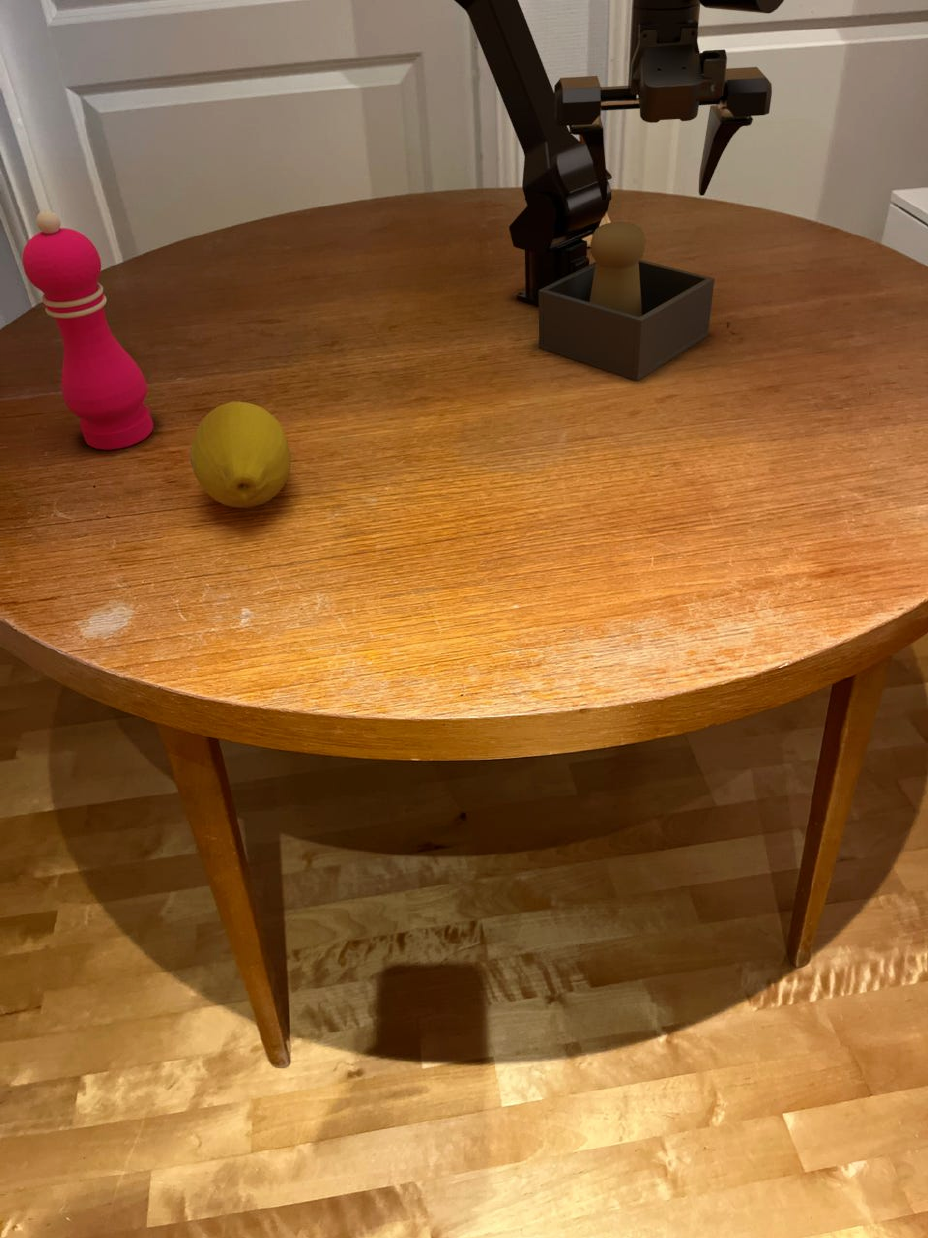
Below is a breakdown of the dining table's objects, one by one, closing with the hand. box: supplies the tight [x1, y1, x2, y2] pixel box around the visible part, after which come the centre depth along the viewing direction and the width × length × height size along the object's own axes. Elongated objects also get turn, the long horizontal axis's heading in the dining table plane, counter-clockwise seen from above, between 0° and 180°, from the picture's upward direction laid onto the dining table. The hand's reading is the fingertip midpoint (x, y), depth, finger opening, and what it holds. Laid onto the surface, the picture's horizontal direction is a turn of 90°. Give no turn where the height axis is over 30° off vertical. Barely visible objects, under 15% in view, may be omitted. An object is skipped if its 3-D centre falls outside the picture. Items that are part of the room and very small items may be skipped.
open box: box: [538, 259, 715, 382], centre depth 94 cm, size 12×12×6 cm
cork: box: [590, 221, 646, 317], centre depth 93 cm, size 6×6×11 cm
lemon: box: [190, 401, 292, 509], centre depth 76 cm, size 11×8×8 cm
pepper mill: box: [22, 210, 154, 451], centre depth 82 cm, size 7×7×20 cm
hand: (652, 196), depth 90 cm, fingers open, 9 cm apart
